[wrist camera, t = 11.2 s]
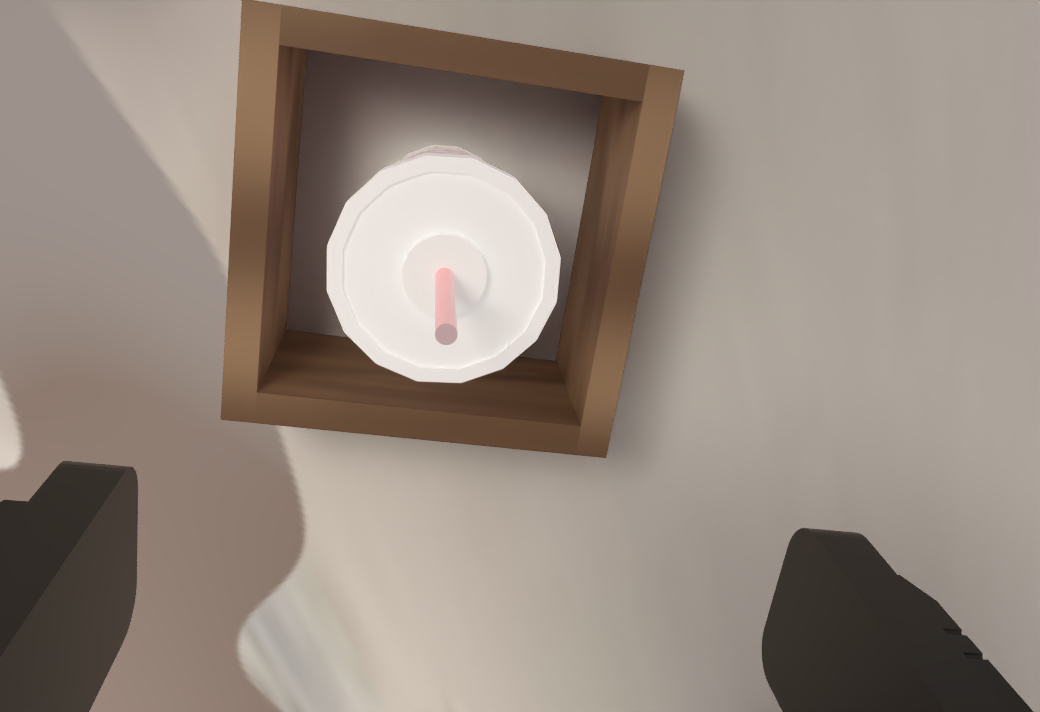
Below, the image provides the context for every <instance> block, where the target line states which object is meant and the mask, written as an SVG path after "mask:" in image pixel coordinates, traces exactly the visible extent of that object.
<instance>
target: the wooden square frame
mask: <svg viewBox="0 0 1040 712" xmlns="http://www.w3.org/2000/svg"><path fill="white" fill-rule="evenodd" d="M307 49H308V50H315V51H321V52H328V53H334V54H340V55H347V56H353V57H359V58H366V59H372V60H379V61H385V62H391V63H398V64H404V65H411V66H417V67H423V68H430V69H436V70H442V71H449V72H455V73H462V74H468V75H474V76H481V77H487V78H494V79H500V80H506V81H513V82H519V83H525V84H532V85H538V86H545V87H551V88H557V89H564V90H570V91H577V92H583V93H589V94H596V95H602V96H603V98H602V104H601V109H600V115H599V121H598V126H597V132H596V138H595V143H594V149H593V155H592V160H591V166H590V172H589V177H588V183H587V189H586V194H585V200H584V206H583V211H582V217H581V223H580V228H579V234H578V240H577V245H576V251H575V257H574V262H573V268H572V274H571V279H570V285H569V291H568V296H567V302H566V308H565V313H564V319H563V325H562V330H561V336H560V342H559V347H558V353H557V359H556V361H548V360H539V359H531V358H522V357H516V358H515V359H514V360H513V361H512V362H511V363H509V364H508V365H507V366H506V367H505V368H503V369H501V370H498V371H495V372H492V373H489V374H486V375H483V376H481V377H478V378H475V379H472V380H469V381H466V382H463V383H447V382H420V381H415V380H413V379H410V378H408V377H406V376H403V375H401V374H399V373H396V372H394V371H392V370H389V369H387V368H385V367H382V366H380V365H378V364H376V363H375V362H374V361H373V360H372V359H371V358H370V357H369V356H368V355H367V354H366V353H365V352H364V351H363V350H362V349H361V348H360V347H358V346H357V345H356V344H355V343H354V342H353V341H352V340H351V339H350V338H346V337H337V336H329V335H320V334H311V333H302V332H294V331H286V325H287V311H288V298H289V284H290V270H291V257H292V243H293V230H294V216H295V202H296V189H297V175H298V161H299V148H300V134H301V121H302V107H303V93H304V80H305V66H306V53H307ZM683 75H684V70H678V69H672V68H666V67H660V66H654V65H648V64H641V63H635V62H629V61H623V60H617V59H611V58H604V57H598V56H592V55H586V54H580V53H574V52H568V51H561V50H555V49H549V48H543V47H537V46H531V45H525V44H518V43H512V42H506V41H500V40H494V39H488V38H482V37H475V36H469V35H463V34H457V33H451V32H445V31H439V30H432V29H426V28H420V27H414V26H408V25H402V24H395V23H389V22H383V21H377V20H371V19H365V18H359V17H352V16H346V15H340V14H334V13H328V12H322V11H316V10H309V9H303V8H297V7H291V6H285V5H279V4H273V3H266V2H260V1H254V0H242V12H241V32H240V52H239V71H238V91H237V111H236V130H235V150H234V170H233V190H232V209H231V229H230V249H229V268H228V288H227V308H226V328H225V347H224V348H225V349H224V367H223V387H222V406H221V420H230V421H241V422H251V423H260V424H270V425H280V426H291V427H301V428H311V429H321V430H331V431H341V432H351V433H361V434H371V435H381V436H391V437H401V438H411V439H421V440H431V441H441V442H451V443H461V444H471V445H481V446H492V447H502V448H512V449H522V450H532V451H542V452H552V453H562V454H572V455H582V456H592V457H602V458H606V455H607V450H608V445H609V440H610V435H611V430H612V426H613V421H614V416H615V411H616V406H617V401H618V396H619V391H620V386H621V381H622V376H623V371H624V366H625V361H626V356H627V352H628V347H629V342H630V337H631V332H632V327H633V322H634V317H635V312H636V307H637V302H638V297H639V292H640V287H641V283H642V278H643V273H644V268H645V263H646V258H647V253H648V248H649V243H650V238H651V233H652V228H653V223H654V218H655V213H656V209H657V204H658V199H659V194H660V189H661V184H662V179H663V174H664V169H665V164H666V159H667V154H668V149H669V144H670V139H671V135H672V130H673V125H674V120H675V115H676V110H677V105H678V100H679V95H680V90H681V85H682V80H683Z"/></svg>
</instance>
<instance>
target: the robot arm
mask: <svg viewBox="0 0 1040 712" xmlns="http://www.w3.org/2000/svg"><path fill="white" fill-rule="evenodd" d="M137 522H138V481H137V474H136V471H135V470H134V468H133V467H126V466H116V465H105V464H93V463H82V462H71V461H63V462H62V463H60V464H59V465H58V466H57V467H56V469H55V470H54V471H53V472H52V473H51V475H50V476H49V477H48V478H47V480H46V481H45V482H44V483H43V484H42V486H41V487H40V488H39V489H38V490H37V492H36V493H35V494H34V495H33V496H32V498H31V499H30V500H29V501H28V502H25V501H12V500H3V501H2V502H0V712H89V711H90V709H91V706H92V705H93V703H94V701H95V698H96V696H97V694H98V692H99V690H100V688H101V686H102V684H103V682H104V680H105V678H106V676H107V674H108V672H109V670H110V668H111V666H112V664H113V662H114V660H115V658H116V656H117V654H118V652H119V650H120V648H121V645H122V643H123V641H124V639H125V636H126V634H127V631H128V628H129V625H130V621H131V618H132V613H133V609H134V603H135V596H136V585H137ZM961 631H962V630H961V628H960V627H959V626H958V625H957V624H956V623H955V622H954V620H953V619H952V618H951V617H950V616H949V615H948V614H947V612H946V611H945V610H944V609H943V608H942V607H941V606H940V604H939V603H938V602H937V601H936V600H934V599H933V598H931V597H930V596H929V595H927V594H926V593H924V592H923V591H922V590H920V589H919V588H917V587H916V586H914V585H913V584H912V583H910V582H909V581H907V580H906V579H904V578H903V577H902V576H900V575H897V574H896V573H895V572H894V570H893V569H892V568H891V567H890V566H889V564H888V563H887V562H886V561H885V560H884V559H883V557H882V556H881V555H880V554H879V553H878V551H877V550H876V549H875V548H874V547H873V546H872V544H871V543H870V542H869V541H868V540H867V539H866V538H865V537H864V536H863V535H862V534H860V533H853V532H842V531H831V530H820V529H808V528H802V529H799V530H797V531H796V532H795V533H794V535H793V536H792V538H791V540H790V542H789V545H788V548H787V552H786V555H785V559H784V562H783V566H782V569H781V573H780V576H779V579H778V583H777V586H776V590H775V593H774V597H773V600H772V604H771V607H770V611H769V614H768V618H767V621H766V625H765V628H764V633H763V639H762V661H763V667H764V672H765V676H766V679H767V681H768V684H769V686H770V688H771V690H772V691H773V693H774V695H775V697H776V699H777V701H778V703H779V705H780V707H781V709H782V711H783V712H1033V711H1032V710H1031V709H1030V707H1029V706H1028V705H1027V704H1026V703H1025V702H1024V701H1023V699H1022V698H1021V697H1020V696H1019V695H1018V694H1017V693H1016V691H1015V690H1014V689H1013V688H1012V687H1011V686H1010V685H1009V683H1008V682H1007V681H1006V680H1005V679H1004V678H1003V677H1002V675H1001V674H1000V673H999V672H998V671H997V670H996V669H995V667H994V666H993V665H992V664H991V663H990V662H989V661H988V660H983V658H982V652H981V651H980V650H979V649H978V648H977V647H976V646H975V644H974V643H973V642H972V641H971V640H970V639H969V638H968V636H965V635H962V633H961Z"/></svg>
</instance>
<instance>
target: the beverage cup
mask: <svg viewBox="0 0 1040 712" xmlns="http://www.w3.org/2000/svg"><path fill="white" fill-rule="evenodd" d="M560 261H561V257H560V254H559V251H558V247H557V244H556V241H555V238H554V235H553V232H552V229H551V226H550V223H549V219H548V216H547V214H546V212H545V211H544V210H543V209H542V208H541V207H540V206H539V204H538V203H537V202H536V201H535V200H534V199H533V197H532V196H531V195H530V194H529V193H528V192H527V190H526V189H525V188H524V187H523V186H522V185H521V184H520V182H519V181H518V180H517V179H516V178H515V177H514V176H513V175H510V174H508V173H506V172H504V171H502V170H500V169H498V168H496V167H494V166H492V165H490V164H488V163H486V162H485V161H484V160H483V159H482V158H480V157H478V156H476V155H474V154H472V153H470V152H468V151H466V150H464V149H462V148H460V147H453V146H438V145H431V146H428V147H425V148H423V149H420V150H417V151H414V152H411V153H408V154H407V155H406V156H405V157H403V158H402V159H401V160H400V161H399V162H398V163H395V164H392V165H390V166H387V167H384V168H382V169H381V170H380V171H379V172H378V173H377V174H376V175H374V176H373V177H372V178H371V179H370V180H369V181H368V182H367V183H366V184H365V185H364V186H362V187H361V188H360V189H359V190H358V191H357V192H356V193H355V194H354V195H353V196H352V197H350V198H349V199H348V200H347V201H346V203H345V206H344V208H343V210H342V212H341V215H340V217H339V219H338V221H337V224H336V226H335V228H334V230H333V233H332V235H331V237H330V239H329V242H328V244H327V293H328V295H329V298H330V300H331V302H332V305H333V307H334V309H335V312H336V314H337V317H338V319H339V321H340V324H341V326H342V328H343V331H344V333H345V334H346V335H347V336H348V337H349V338H350V339H351V340H352V341H353V342H354V343H355V344H356V345H357V346H358V347H360V348H361V349H362V350H363V351H364V352H365V353H366V354H367V355H368V356H369V357H370V358H371V359H372V360H373V361H374V362H375V363H376V364H378V365H380V366H382V367H385V368H387V369H389V370H392V371H394V372H396V373H399V374H401V375H403V376H406V377H408V378H410V379H413V380H415V381H420V382H447V383H463V382H466V381H469V380H472V379H475V378H478V377H481V376H483V375H486V374H489V373H492V372H495V371H498V370H501V369H503V368H505V367H506V366H507V365H508V364H509V363H511V362H512V361H513V360H514V359H515V358H516V357H518V356H519V355H520V354H521V353H522V352H524V351H525V350H526V349H527V348H528V347H529V346H531V345H532V344H533V343H534V342H535V341H536V340H537V339H538V337H539V335H540V333H541V331H542V329H543V327H544V325H545V323H546V321H547V320H548V318H549V316H550V314H551V312H552V310H553V308H554V306H555V304H556V303H557V295H558V284H559V272H560Z"/></svg>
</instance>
